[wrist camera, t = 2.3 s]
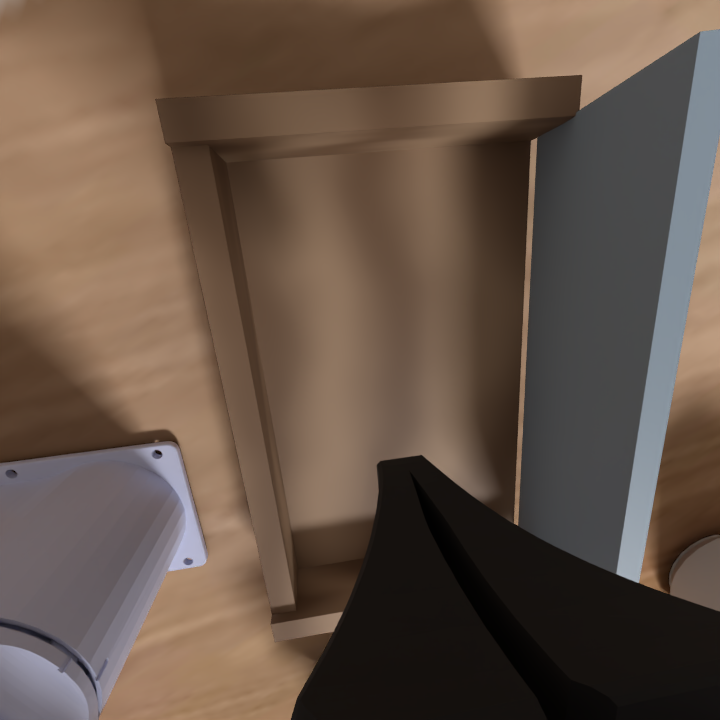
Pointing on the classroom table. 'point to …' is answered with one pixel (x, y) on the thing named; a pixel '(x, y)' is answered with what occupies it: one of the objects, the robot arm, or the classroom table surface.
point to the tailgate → (614, 301)
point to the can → (698, 573)
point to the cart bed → (361, 301)
